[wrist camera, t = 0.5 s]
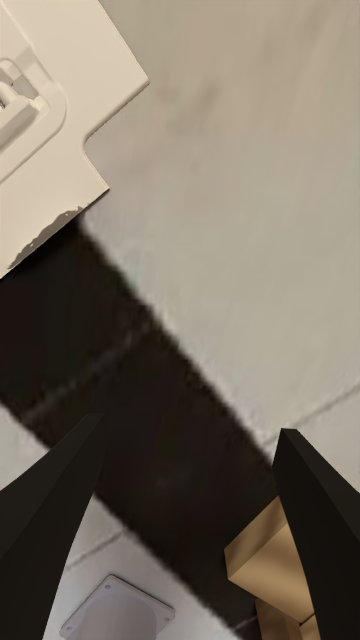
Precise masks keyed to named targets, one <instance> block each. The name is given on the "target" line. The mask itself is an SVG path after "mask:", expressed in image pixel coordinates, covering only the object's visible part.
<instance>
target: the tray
mask: <svg viewBox="0 0 360 640" xmlns="http://www.w3.org/2000/svg"><path fill="white" fill-rule="evenodd" d="M21 74H23V75H24V76H25V77H26V79H27V80H28V81H29V82H30V83H31V85H32V86H33V87H34V88H35V89H36V90H37V92H38V93H39V96H38V97H37V98H35V99H34V100H31V99H27V98H26V97H24V96H23V95H22V96H21V95H18V94H17V93H16V92H15V91H14V89H13V88H12V86H11V85H12V83H13V82H14V81H15V80H16V79H17V78H18V77H19V76H20V75H21ZM149 83H150V81H149V79H148V77H147V76H146V74H145V73H144V71H143V70H142V68H141V66H140V65H139V63H138V62H137V60H136V59H135V57H134V56H133V54H132V52H131V50H130V49H129V47H128V46H127V44H126V43H125V41H124V40H123V39H122V37H121V35H120V34H119V32H118V30H117V29H116V27H115V26H114V24H113V23H112V21H111V20H110V18H109V17H108V15H107V14H106V12H105V10H104V9H103V7H102V6H101V4H100V3H99V1H98V0H0V99H1V100H2V102H3V103H4V104H5V106H6V107H5V108H4V109H3V108H2V107H1V106H0V279H1V278H2V277H3V276H4V275H5V274H7V273H8V272H9V271H10V270H11V269H13V268H14V267H15V266H16V265H17V264H19V263H20V262H21V261H22V260H23V259H24V258H26V257H27V256H28V255H29V254H31V253H32V252H33V251H34V250H35V249H36V248H38V247H39V246H40V245H41V244H43V243H44V242H45V241H46V240H47V239H49V238H50V237H51V236H52V235H53V234H55V233H56V232H57V231H58V230H59V229H61V228H62V227H63V226H64V225H65V224H67V223H68V222H69V221H70V220H71V219H73V218H74V217H75V216H76V215H77V214H79V213H80V212H81V211H82V210H83V209H84V208H85V207H87V206H88V205H89V204H90V203H91V202H93V201H94V200H95V199H97V197H99V196H100V195H101V194H102V193H103V192H105V191H106V190H107V189H110V188H109V187H108V185H107V184H106V182H105V181H104V180H103V178H102V177H101V176H100V174H99V173H98V172H97V170H96V169H95V167H94V166H93V165H92V163H91V162H90V161H89V159H88V158H87V156H86V154H85V142H86V140H87V138H88V137H89V136H90V135H91V134H93V133H94V132H95V131H96V130H97V129H98V128H99V127H101V126H102V125H103V124H104V123H105V122H106V121H107V120H108V119H110V118H111V117H112V116H113V115H114V114H115V113H116V112H118V111H119V110H120V109H121V108H122V107H123V106H124V105H125V104H127V103H128V102H129V101H130V100H131V99H132V98H133V97H135V96H136V95H137V94H138V93H139V92H140V91H141V90H143V89H144V88H145V87H146V86H147V85H148V84H149Z"/></svg>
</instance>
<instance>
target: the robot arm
mask: <svg viewBox="0 0 360 640" xmlns="http://www.w3.org/2000/svg"><path fill="white" fill-rule="evenodd" d="M105 453H106V450H105V428H104V414H93V413H89V414H88V415H86V416H85V417H84V418H83V419H82V420H81V421H80V422H79V423H78V424H77V425H76V426H75V427H74V428H73V429H72V430H71V431H70V432H69V433H68V434H67V435H66V436H65V437H64V438H63V439H62V440H61V441H60V442H59V443H57V444H56V445H55V446H54V447H53V448H52V449H51V450H50V451H49V452H48V453H47V454H45V455H44V456H43V457H42V458H41V459H40V460H38V461H37V462H36V463H35V464H34V465H33V466H31V467H30V468H29V469H28V470H27V471H25V472H24V473H23V474H22V475H20V476H19V477H18V478H17V479H15V480H14V481H13V482H11V483H10V484H9V485H7V486H6V487H5V488H3V489H2V490H1V491H0V640H42V639H43V636H44V632H45V629H46V625H47V622H48V619H49V615H50V612H51V609H52V605H53V602H54V599H55V595H56V592H57V589H58V586H59V583H60V579H61V576H62V573H63V570H64V567H65V563H66V560H67V557H68V554H69V552H70V549H71V546H72V543H73V541H74V538H75V536H76V533H77V531H78V528H79V526H80V523H81V521H82V518H83V516H84V513H85V511H86V509H87V506H88V504H89V501H90V499H91V496H92V494H93V491H94V489H95V486H96V484H97V481H98V478H99V475H100V471H101V468H102V464H103V461H104V457H105ZM272 468H273V473H274V478H275V483H276V487H277V491H278V495H279V498H280V501H281V504H282V507H283V510H284V513H285V516H286V519H287V522H288V525H289V528H290V531H291V534H292V537H293V540H294V543H295V546H296V549H297V552H298V555H299V558H300V561H301V564H302V567H303V571H304V574H305V577H306V581H307V585H308V589H309V593H310V597H311V601H312V605H313V609H314V613H315V617H316V622H317V626H318V630H319V635H320V639H321V640H360V493H359V492H358V491H356V490H355V489H354V488H353V487H352V486H351V485H350V484H349V483H348V482H347V481H346V480H345V479H344V478H343V477H342V476H341V475H340V474H339V473H338V472H337V471H336V470H335V469H334V468H333V467H332V466H331V465H330V464H329V463H328V462H327V461H326V460H325V459H324V458H323V457H322V456H321V455H320V454H319V452H318V451H317V450H316V449H315V448H314V447H313V446H312V445H311V444H310V443H309V442H308V441H307V440H306V439H305V438H304V437H303V435H302V434H301V433H300V432H299V431H298V430H297V429H286V428H281V431H280V435H279V440H278V444H277V448H276V452H275V456H274V461H273V465H272ZM174 617H175V611H174V610H173V609H172V608H170V607H168V606H167V605H165V604H163V603H161V602H159V601H158V600H156V599H154V598H152V597H150V596H149V595H147V594H145V593H143V592H142V591H140V590H138V589H136V588H134V587H133V586H131V585H129V584H127V583H126V582H124V581H122V580H120V579H118V578H117V577H115V576H112V575H110V576H108V577H107V578H106V579H105V580H104V581H103V582H102V583H101V584H100V585H99V587H98V588H97V589H96V590H95V591H94V592H93V593H92V594H91V595H90V596H89V598H88V599H87V600H86V601H85V602H84V603H83V604H82V605H81V606H80V608H79V609H78V610H77V611H76V612H75V613H74V614H73V615H72V616H71V617H70V619H69V620H68V621H67V622H66V623H65V624H64V625H63V626H62V627H61V630H60V635H61V636H62V637H64V638H66V639H67V640H155V639H156V635H157V634H158V633H159V632H160V631H161V630H162V629H163V628H164V627H165V626H166V625H167V624H168V623H169V622H170V621H171V620H172V619H174Z"/></svg>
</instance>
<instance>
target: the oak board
mask: <svg viewBox="0 0 360 640" xmlns="http://www.w3.org/2000/svg"><path fill="white" fill-rule="evenodd" d="M224 552H225V559H226V566H227V573H228V580H230V581H232V582H233V583H235V584H237V585H238V586H240V587H242V588H243V589H245V590H247V591H248V592H250V593H252V594H254V595H255V596H257V597H259V598H260V599H262V600H264V601H265V602H267V603H269V604H270V605H272V606H274V607H275V608H277V609H279V610H280V611H282V612H284V613H285V614H287V615H289V616H290V617H292V618H294V619H295V620H297V621H299V622H300V623H302V624H304V623H305V622H307V621H308V620H309V619H310V618H311V617H312V616H314V615H315V613H314V609H313V605H312V601H311V597H310V593H309V589H308V585H307V581H306V577H305V574H304V571H303V567H302V564H301V561H300V558H299V555H298V552H297V549H296V546H295V543H294V540H293V537H292V534H291V531H290V528H289V525H288V522H287V519H286V516H285V513H284V510H283V507H282V504H281V501H280V498H279V495H278V496H277V497H276V498H275V499H274V500H273V501H272V502H271V503H270V504H269V505H268V506H267V507H266V508H265V509H264V510H263V511H262V512H261V513H260V514H259V515H258V516H257V517H256V518H255V519H254V520H253V521H252V522H251V523H250V524H249V525H248V526H247V527H246V528H245V529H244V530H243V531H242V532H241V533H240V534H239V535H238V536H237V537H236V538H235V539H234V540H233V541H232V542H231V543H230V544H229V545H228V546H227V547H226V548H225V549H224Z"/></svg>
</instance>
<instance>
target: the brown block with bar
mask: <svg viewBox="0 0 360 640" xmlns="http://www.w3.org/2000/svg"><path fill="white" fill-rule="evenodd" d="M254 601H255V606H256V610H257V615H258V620H259V625H260V630H261V634H262V639H263V640H321V639H320V635H319V630H318V626H317V622H316V617H315V615H314V616H312V617H311V618H310V619H309V620H308V621H307V622H305V623H304V624H302V623H300V622H299V621H297V620H295V619H294V618H292V617H290V616H289V615H287V614H285V613H284V612H282V611H280V610H279V609H277V608H275V607H274V606H272V605H270V604H269V603H267V602H265V601H264V600H262V599H260V598H259V597H258V598H256V599H255V600H254Z"/></svg>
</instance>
